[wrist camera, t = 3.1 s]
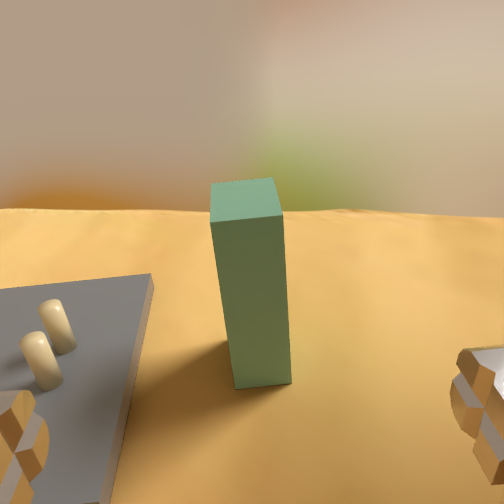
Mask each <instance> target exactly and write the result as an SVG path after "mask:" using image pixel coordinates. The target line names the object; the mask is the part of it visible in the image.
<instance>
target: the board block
mask: <svg viewBox="0 0 504 504" xmlns="http://www.w3.org/2000/svg"><path fill="white" fill-rule="evenodd" d="M210 226H211V233H212V239H213V246H214V253H215V259H216V266H217V272H218V279H219V286H220V292H221V299H222V306H223V312H224V319H225V325H226V332H227V339H228V345H229V352H230V359H231V365H232V372H233V378H234V385H235V389H243V388H253V387H262V386H271V385H281V384H290V383H292V379H291V359H290V340H289V321H288V302H287V282H286V263H285V244H284V225H283V213H282V209H281V206H280V202H279V198H278V194H277V191H276V187H275V183H274V180H273V177H271V178H262V179H252V180H243V181H232V182H223V183H213V184H211V208H210Z"/></svg>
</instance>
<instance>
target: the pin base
mask: <svg viewBox="0 0 504 504" xmlns="http://www.w3.org/2000/svg"><path fill="white" fill-rule="evenodd" d="M153 291H154V284H153V280H152V276H151V273H150V274H141V275H131V276H121V277H112V278H102V279H92V280H83V281H73V282H64V283H54V284H44V285H35V286H25V287H15V288H6V289H0V391H13V390H29V391H30V392H31V393H32V395H33V397H34V399H35V401H36V405H35V407H34V409H33V412H34V413H36V414H37V415H39V416H41V417H42V418H44V420H45V422H46V424H47V427H48V432H49V438H50V439H49V449H48V456H47V459H46V462H45V465H44V468H43V470H42V471H41V472H40V473H39V474H38V475H37V476H36V477H35V478H34V479H33V480H32V481H31V482H30V483H31V486H32V489H33V491H34V495H33V498H32V501H31V504H110V499H111V494H112V489H113V484H114V479H115V475H116V470H117V465H118V460H119V455H120V450H121V446H122V441H123V436H124V431H125V426H126V421H127V417H128V412H129V407H130V402H131V397H132V392H133V388H134V383H135V378H136V373H137V368H138V363H139V358H140V354H141V349H142V344H143V339H144V334H145V329H146V325H147V320H148V315H149V310H150V305H151V300H152V296H153Z"/></svg>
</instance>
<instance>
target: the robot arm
mask: <svg viewBox="0 0 504 504" xmlns="http://www.w3.org/2000/svg"><path fill="white" fill-rule="evenodd" d="M456 364H457V366H458V368H459V369H460V371H461V373H460V374H459V375H457V376H456V377H455V378H454V379H453V380H452V384H451V389H450V398H451V406H452V410H453V413H454V416H455V418H456V420H457V422H458V424H459V426H460V428H461V430H462V431H464V432H465V433H467V434H468V435H470V436H471V437H472V438H474V439H475V444H474V448H473V452H474V454H475V456H476V458H477V460H478V461H479V463H480V465H481V467H482V469H483V471H484V472H485V474H486V476H487V478H488V480H489V482H490V483H491V485H500V484H504V345H495V346H485V347H476V348H466V349H463V350H462V351H461V352H460V353H459V355H458V359H457V363H456ZM35 405H36V401H35V399H34V397H33V395H32V393H31V392H30V391H29V390H13V391H0V504H31V501H32V498H33V495H34V491H33V489H32V486H31V483H30V482H31V481H32V480H33V479H34V478H35V477H36V476H37V475H38V474H39V473H40V472H41V471H42V470H43V468H44V465H45V462H46V459H47V456H48V449H49V439H50V438H49V432H48V427H47V424H46V422H45V420H44V418H42V417H41V416H39V415H37V414H36V413H34V412H33V409H34V407H35Z"/></svg>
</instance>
